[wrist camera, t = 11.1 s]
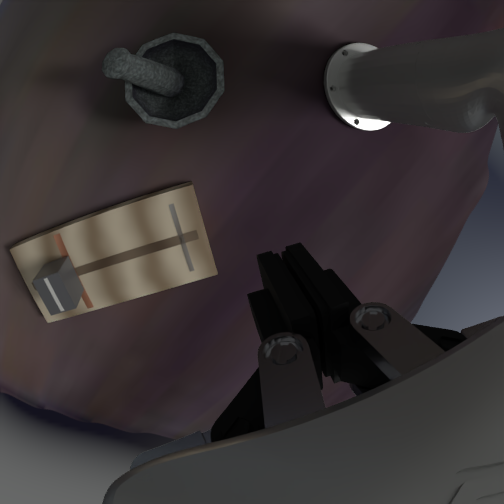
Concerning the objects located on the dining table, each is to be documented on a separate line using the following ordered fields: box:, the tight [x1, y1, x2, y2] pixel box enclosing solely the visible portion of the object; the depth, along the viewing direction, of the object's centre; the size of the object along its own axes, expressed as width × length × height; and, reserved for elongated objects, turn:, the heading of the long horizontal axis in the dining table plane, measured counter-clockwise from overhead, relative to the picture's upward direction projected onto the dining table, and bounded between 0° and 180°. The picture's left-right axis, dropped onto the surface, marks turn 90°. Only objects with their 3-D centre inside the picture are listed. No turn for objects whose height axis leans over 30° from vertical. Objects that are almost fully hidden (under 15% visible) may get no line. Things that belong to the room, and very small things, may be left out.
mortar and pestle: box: [102, 33, 224, 129], centre depth 26 cm, size 11×9×12 cm
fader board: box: [10, 181, 218, 323], centre depth 36 cm, size 26×12×2 cm, turn 102°
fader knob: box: [32, 256, 84, 316], centre depth 32 cm, size 4×5×4 cm
